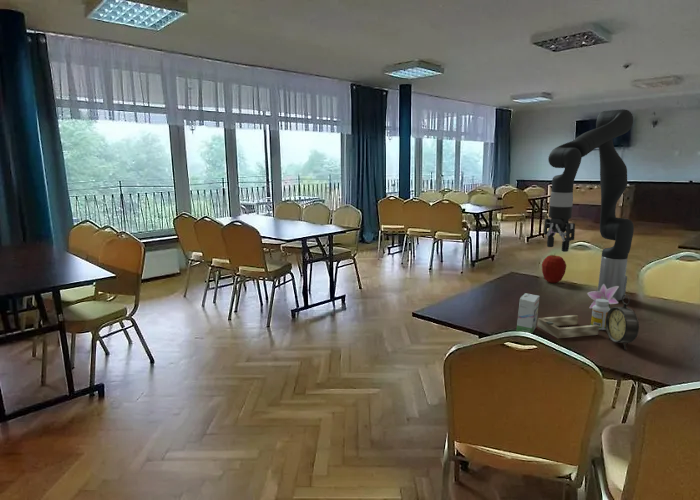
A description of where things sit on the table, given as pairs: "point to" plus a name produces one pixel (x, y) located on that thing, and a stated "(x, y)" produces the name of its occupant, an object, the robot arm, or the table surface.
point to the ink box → (528, 313)
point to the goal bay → (552, 322)
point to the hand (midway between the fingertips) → (557, 249)
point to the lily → (603, 295)
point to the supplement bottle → (600, 313)
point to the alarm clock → (622, 324)
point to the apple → (553, 268)
